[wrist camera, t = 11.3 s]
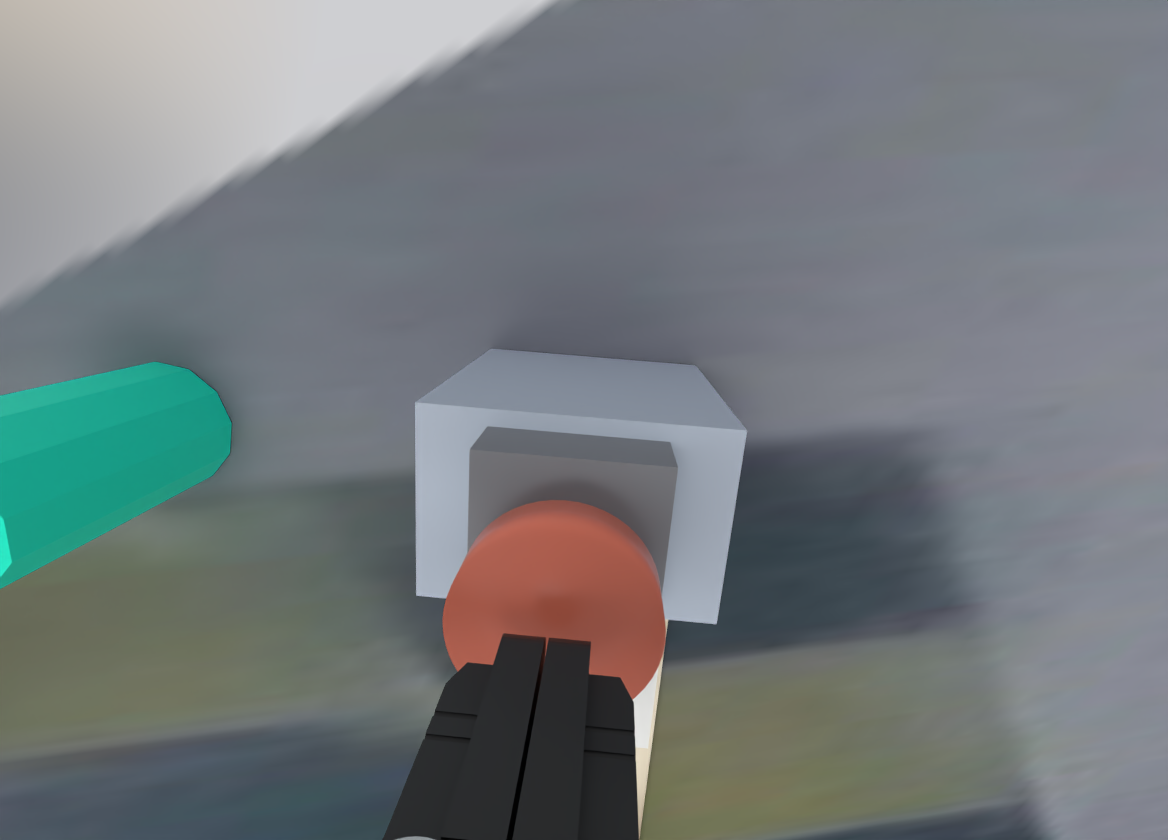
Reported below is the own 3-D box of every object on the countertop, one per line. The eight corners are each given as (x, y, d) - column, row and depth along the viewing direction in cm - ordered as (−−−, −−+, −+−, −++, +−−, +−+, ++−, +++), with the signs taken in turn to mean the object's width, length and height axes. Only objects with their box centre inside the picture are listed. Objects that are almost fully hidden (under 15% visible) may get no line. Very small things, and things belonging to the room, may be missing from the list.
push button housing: (487, 475, 27) (391, 638, 15) (491, 348, 25) (386, 422, 14) (679, 492, 27) (729, 670, 15) (695, 365, 25) (766, 455, 13)
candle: (172, 336, 26) (-187, 398, 14) (258, 444, 27) (-9, 582, 15) (82, 404, 27) (-319, 512, 15) (168, 505, 28) (-143, 675, 17)
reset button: (479, 615, 15) (441, 713, 12) (483, 459, 14) (443, 520, 11) (644, 631, 15) (653, 734, 12) (663, 475, 14) (678, 541, 11)
